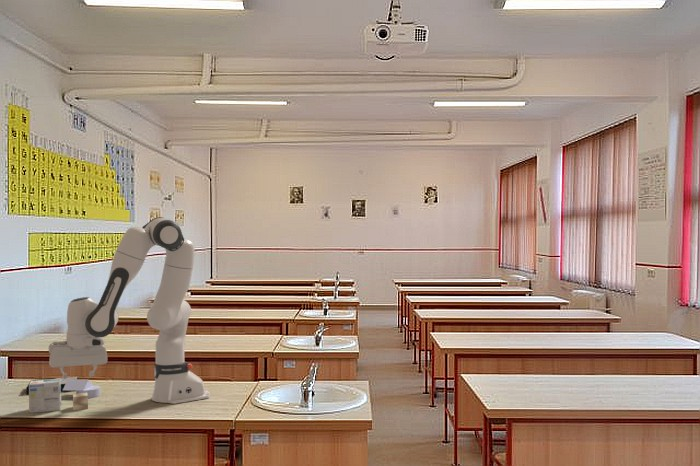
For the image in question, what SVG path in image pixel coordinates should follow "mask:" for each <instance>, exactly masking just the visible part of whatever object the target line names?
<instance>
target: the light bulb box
mask: <svg viewBox="0 0 700 466" xmlns="http://www.w3.org/2000/svg"><path fill="white" fill-rule="evenodd" d="M48 379H49V380H41V379H37V380H38V381H31V380H30V381H31V382H30V381H29V383H30V384H29V383H28V384H29V395H28V410H29V411H28V413H29V414H32V413H34V414H35V413H44V412H54V411H61V408H62V392H61V379H53V378H48Z"/></svg>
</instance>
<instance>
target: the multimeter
mask: <svg viewBox="0 0 700 466" xmlns="http://www.w3.org/2000/svg"><path fill="white" fill-rule="evenodd" d="M79 378H80V377H78V376H72V377H71V376H69V377H68V376H67V378H65V379H63V377H57V378H52V379H61V393H65V392H67V393H68V392H76V390H63V388H64V386H65V384H66V382H67V380H68V379H79ZM49 379H50V378H44V379H43V378H42V379H40V380H49ZM38 380H39V379H32V380H30V381H29V382H28V384H27V386H26V387H25V388H26V389H25V393H26V394H25V395H27V396H29V384H30V382H31V381H38Z"/></svg>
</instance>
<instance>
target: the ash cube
mask: <svg viewBox="0 0 700 466" xmlns="http://www.w3.org/2000/svg"><path fill="white" fill-rule="evenodd" d="M72 409H73V411H78V410H86V409H87V410H88V409H89V399H88V394H87V393H79V394H76V393H73V394H72Z"/></svg>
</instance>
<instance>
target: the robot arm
mask: <svg viewBox="0 0 700 466" xmlns="http://www.w3.org/2000/svg"><path fill="white" fill-rule="evenodd" d="M155 246H158V247H160V248H163V249H165V260H164V265H163V270H162V276H161V279H160V280H161V281H160V284H159V287H158V290H157V292H156V294H155V297H154V300H153V302H152V305H151V306H150V308H149V310H148V311H147V313H146V321H147V323H148V325H149V326H150V327H151V328H152V329H154V330H159V332H158V336H157V340H156V342H155V363H154V368H153V370H154V371H153V372H154V387H153V393H152V397H151V400H152V401H153V402H157V403H161V404H162V403H165V404H181V403H187V402H193V401H198V400H205V399H209V398H210V397H211V392H210V391H209V390H207V389H205V384H204V382H203V379H202V378H201V377H199V376H198V375H196V374H195V373H193V372H192V371H191V369H193V364H192V363H189V362H187V361H185V341H186V334H187V329H188V324H189V319H190V317H191V313H192V308H191V305H190V304H189V302H188V301H186V299H185V296H186V294H187V292H188V290H189V289H190V284H191V281H192V274H193V270H194V264H195V263H194V262H195V245H194V243H193V242H192V241H191V240H190V239H188V238H184V235H183V231H182V229H181V227H180V226H179V224H178V223H177V222H175V221H174V220H172V219H171V218H168V217H164V216H163V217H162V216H158V217H154V218H152V219H151V220H149V221H148V222H147V223H146V224H144V225H143V226H142V227H140V226H132V227H129V228H128V229H127V231H125V233H124V235H123V236H122V238H121V239H120V242H119V243H118V246H117V248H116V250H115V252H114V255H113V258H112V262H111V266H110V272H109V276H108V279H107V284H106V285H105V288H104V290H103V293H102V295H101V297H100V299H99V301H98V302H97V301H95V300H93V299H92V298H90V297H89V296H86V297H85V296H84V297H78V298H74V299H72V300H71V301H70V302H69V303H68V306H67V312H66V325H67V330H66V340H65V341H53V342H52V343H50V344H49V345H48V353H49V363H48V364H49V367H51V368H59V371H60V373H61V374H62V378H63V379H65V378H67V377H68V373H67V372H64V369H65V367H77V366H78V367H79V366H81V367H82V366H92V368H93V369H92V370H91V371H89V377H90V378H92V377H94V376H95V372H96V370H97V369H98V366H99V365H106V364H107V363H108V353H107V347H106V345H104V344H105V340H104V338H105V337H107V336H109V335H110V334H111V333H112V332H113V330H114V329H115V326H116V325H117V324H118V322H119V319H120V318H119V317H120V316H119V314H118V313H119V312H118V311H117V310H116V309H117V307H118V305H119V302H120V300H121V298H122V295H123V294H124V291H125V290H126V288H127V286H128V285H129V284H130V283H131V282H132V281H133V280H134V279H135V278H136V277H137V275H138V274H139V272H140V271H141V269H142V268H143V266H144V263H145V261H146V258H147V255H148V253H149V251H150V250H151V249H152V248H153V247H155ZM184 299H185V300H184ZM94 378H95V377H94Z"/></svg>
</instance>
